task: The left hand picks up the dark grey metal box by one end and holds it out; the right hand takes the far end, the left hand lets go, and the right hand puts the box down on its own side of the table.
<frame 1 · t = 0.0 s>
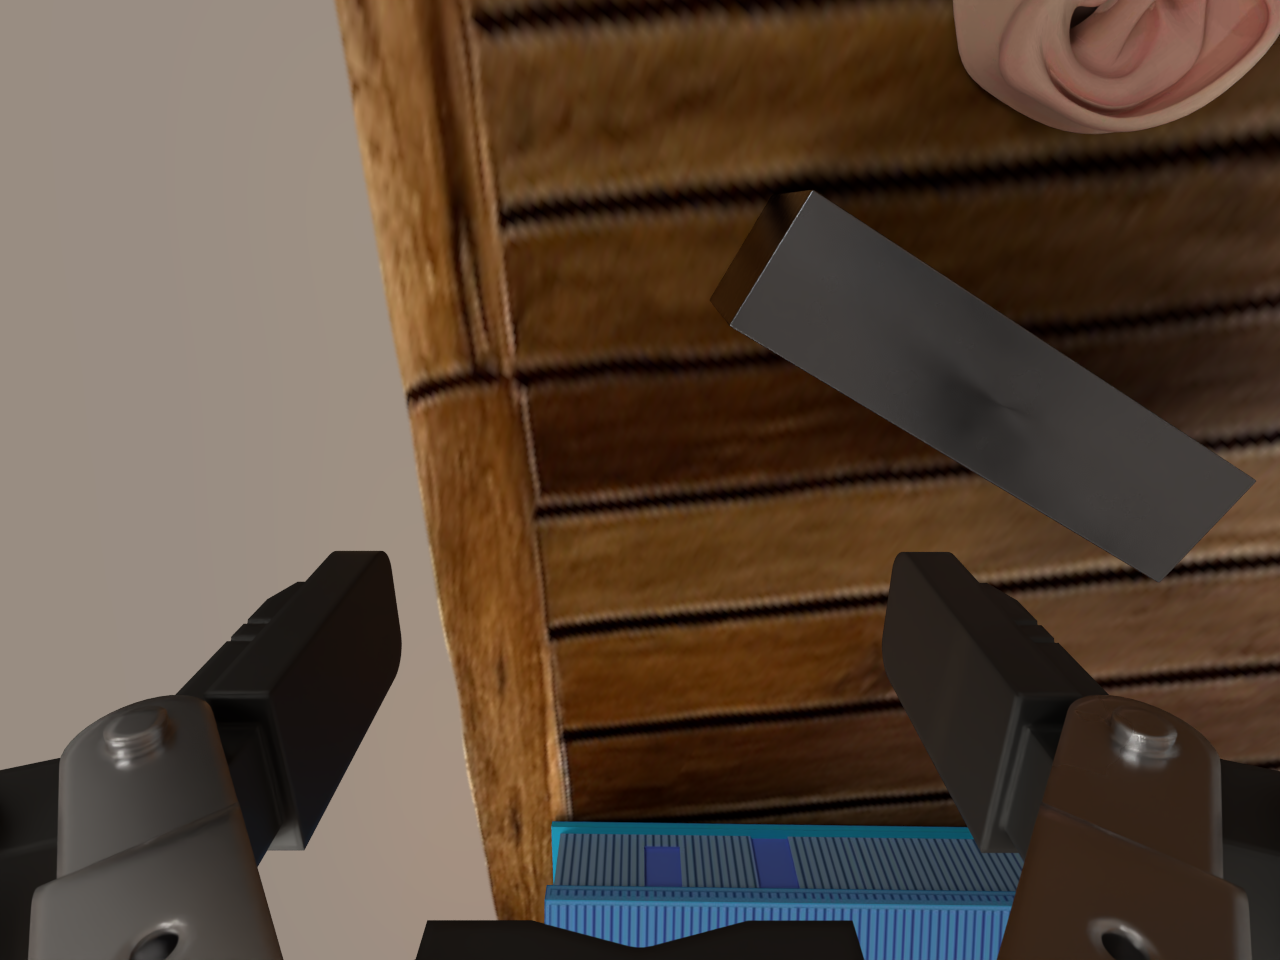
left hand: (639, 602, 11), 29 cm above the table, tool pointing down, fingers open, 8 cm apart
box: (925, 364, 39), on the table
model building: (802, 934, 56), on the table
anatomical model: (1079, 4, 33), on the table
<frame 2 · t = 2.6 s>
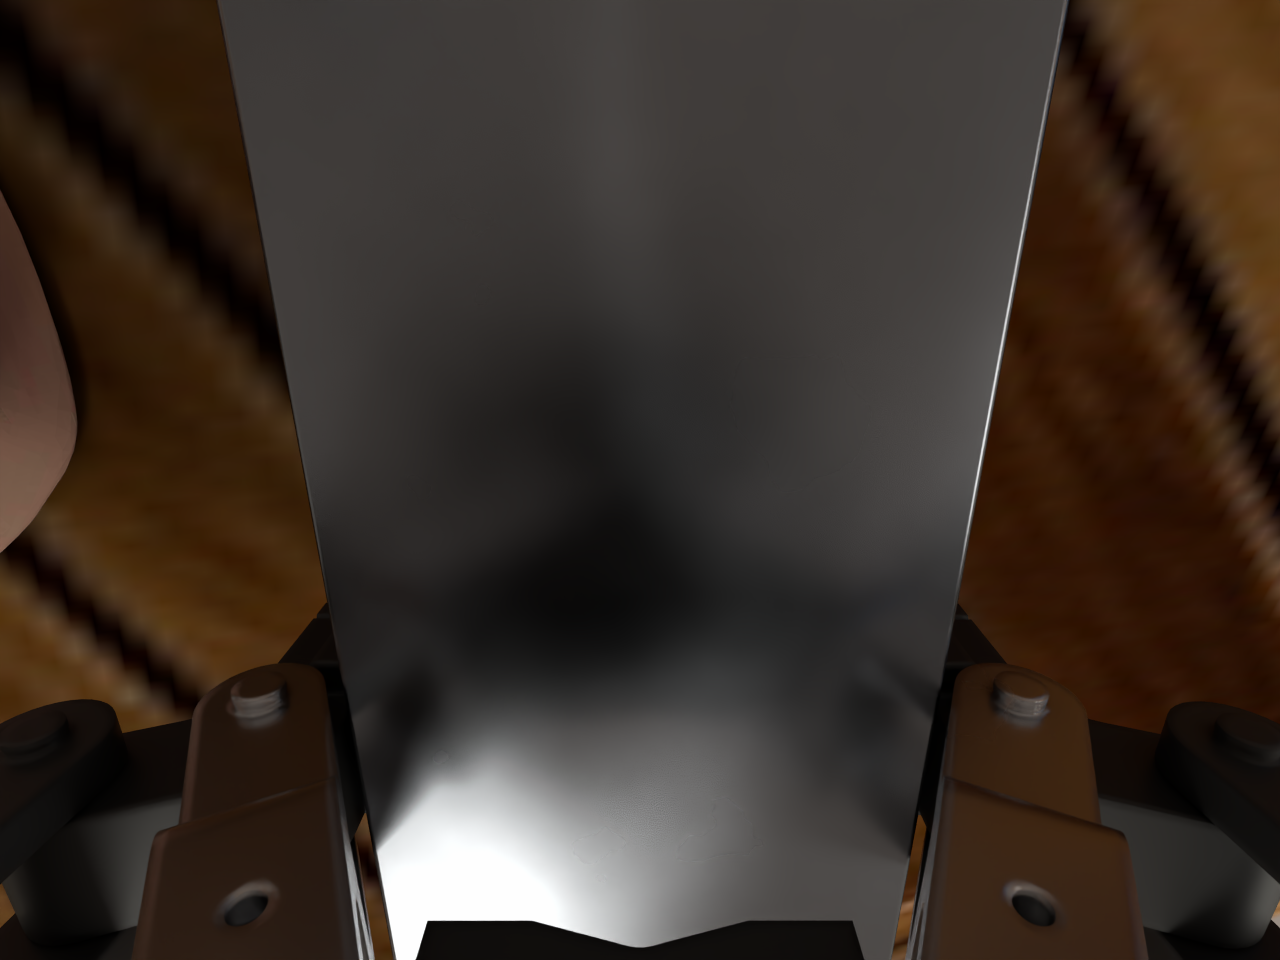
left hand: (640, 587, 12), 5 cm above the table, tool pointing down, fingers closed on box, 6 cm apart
box: (640, 43, 13), on the table, touching left hand
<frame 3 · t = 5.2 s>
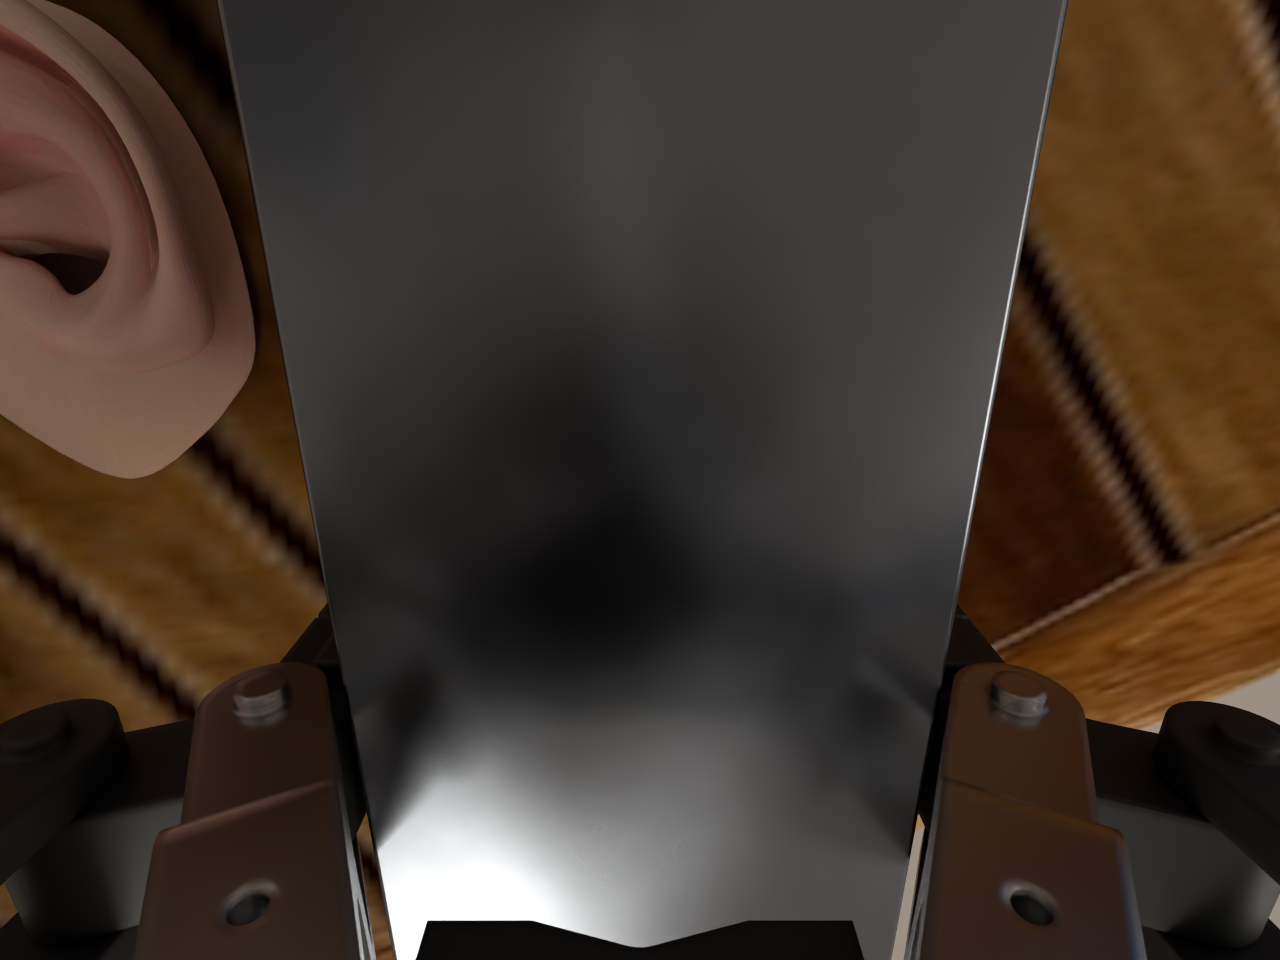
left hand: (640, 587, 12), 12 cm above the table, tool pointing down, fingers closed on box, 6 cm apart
box: (640, 42, 13), point 7 cm above the table, touching left hand
anatomical model: (80, 257, 21), on the table
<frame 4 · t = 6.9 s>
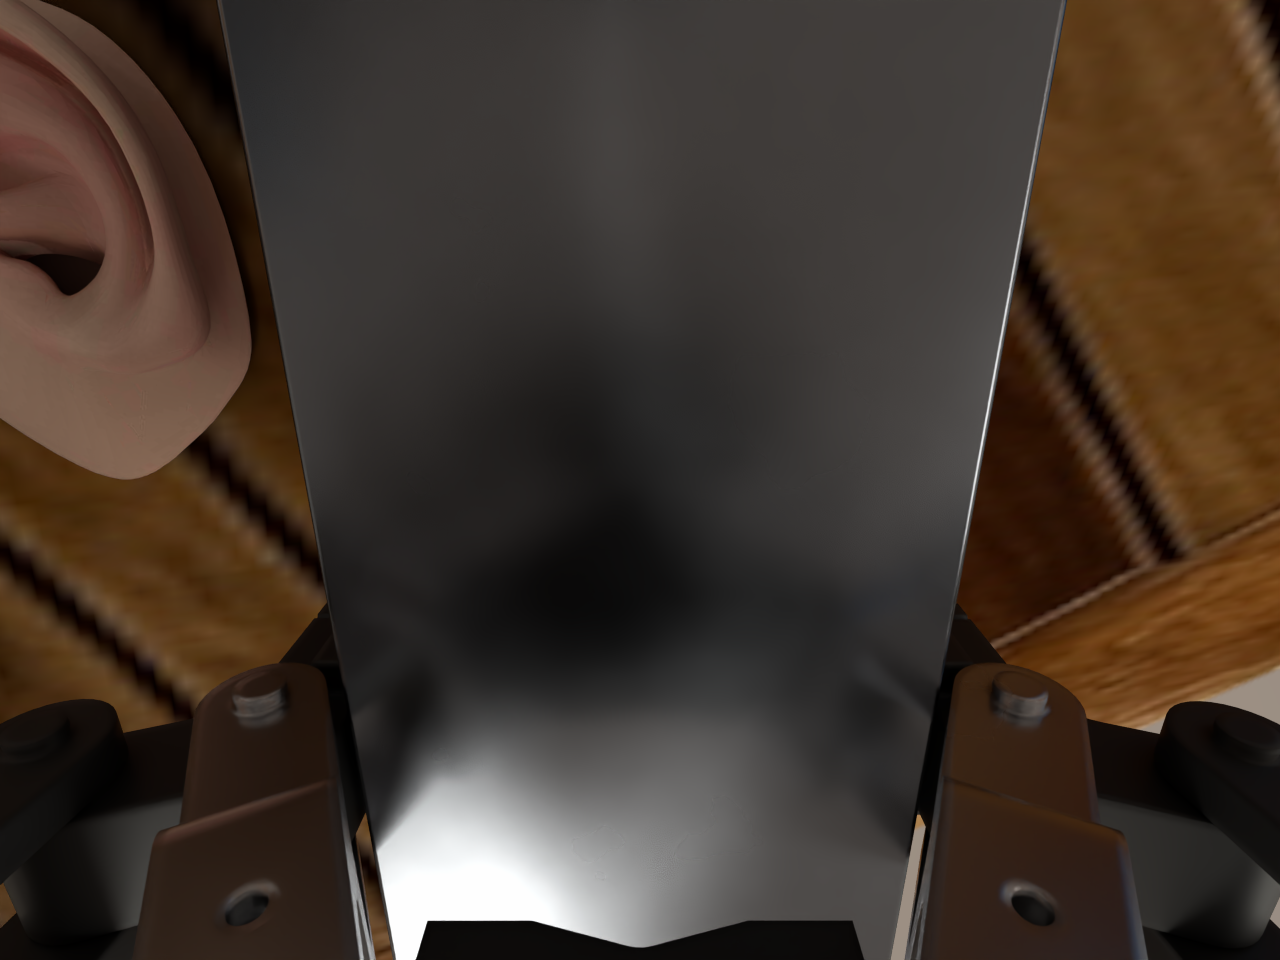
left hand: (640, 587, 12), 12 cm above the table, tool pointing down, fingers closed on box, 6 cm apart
box: (640, 42, 13), point 7 cm above the table, touching left hand, right hand
anatomical model: (75, 257, 21), on the table
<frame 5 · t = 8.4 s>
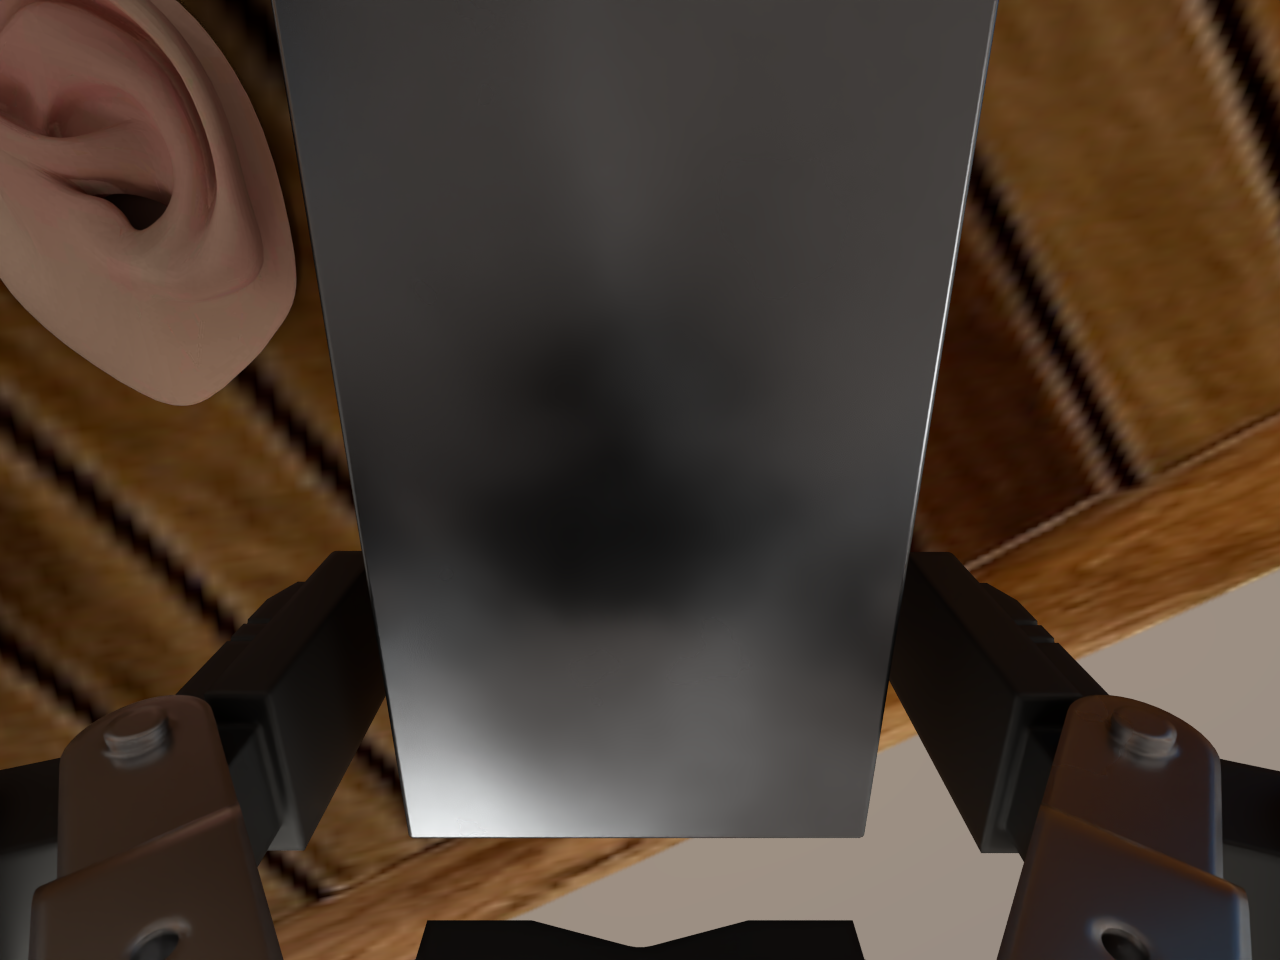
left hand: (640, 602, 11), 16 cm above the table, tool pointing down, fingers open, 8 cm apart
anatomical model: (140, 201, 24), on the table
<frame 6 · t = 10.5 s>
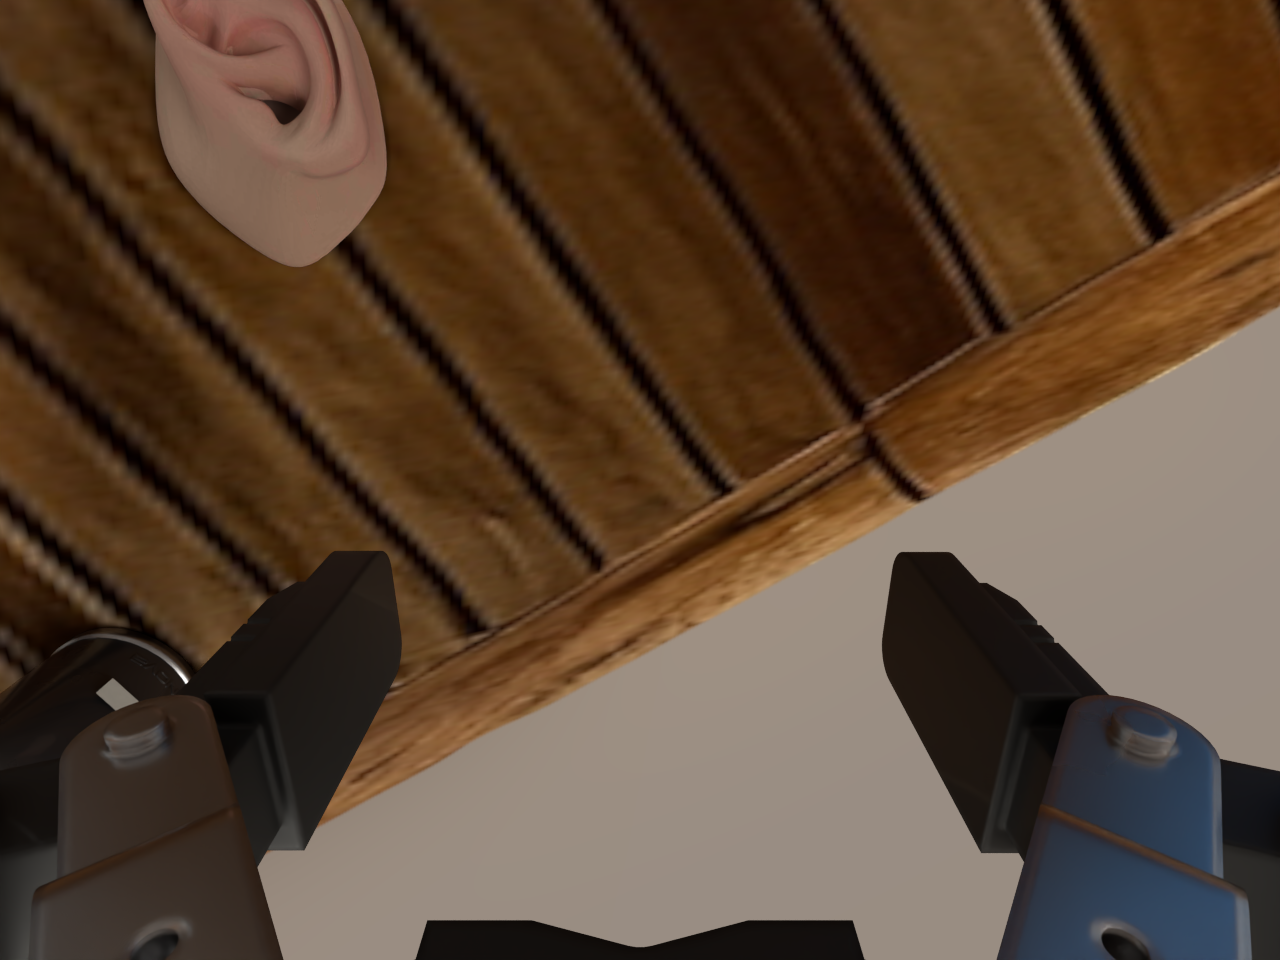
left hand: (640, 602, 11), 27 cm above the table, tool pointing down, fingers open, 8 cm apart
anatomical model: (275, 110, 33), on the table
when the right hand's fingers open (1 cm above the table, at t = 14.6 s): box stays where it is, on the table.
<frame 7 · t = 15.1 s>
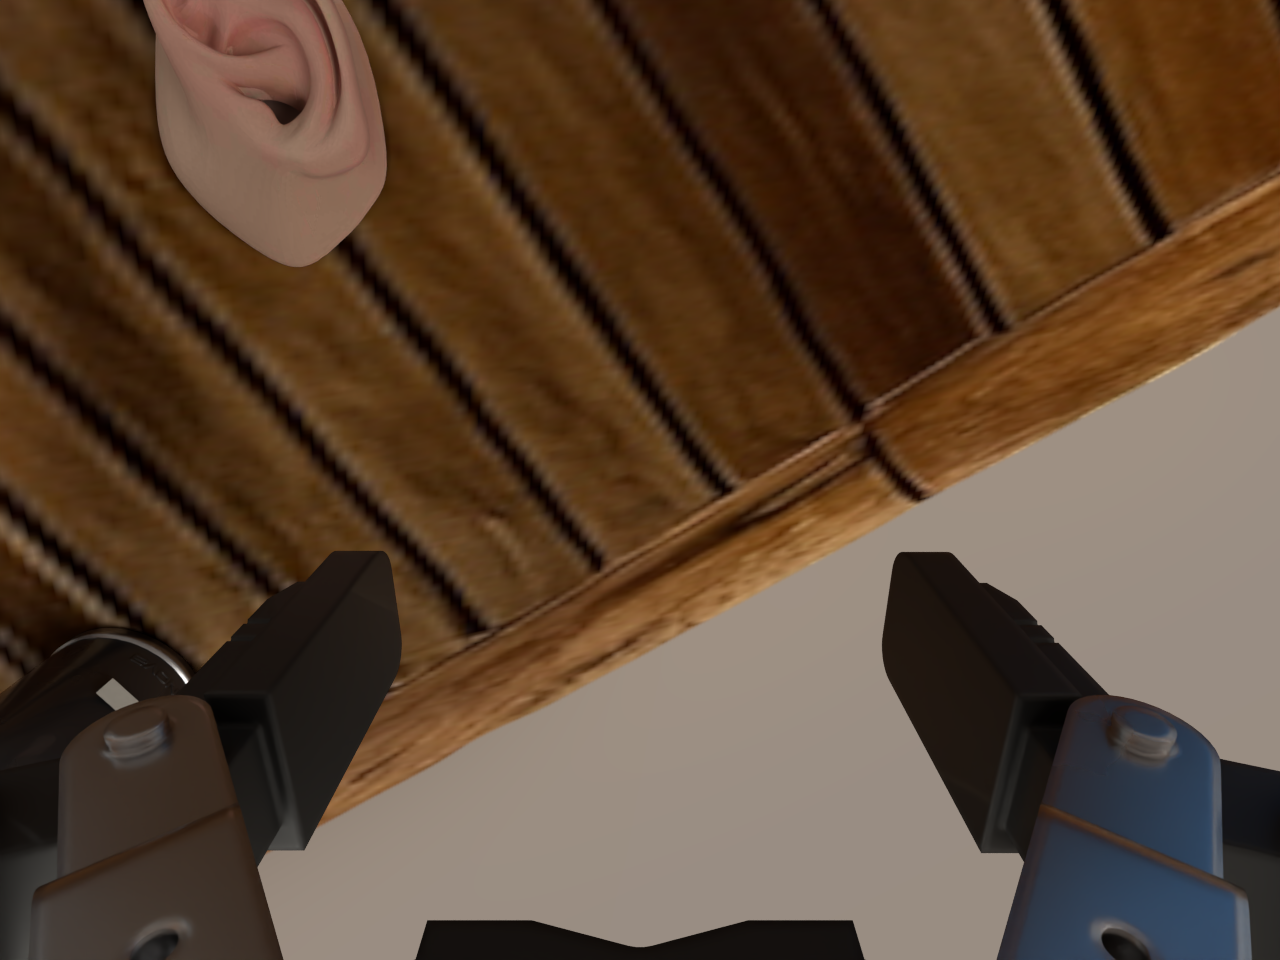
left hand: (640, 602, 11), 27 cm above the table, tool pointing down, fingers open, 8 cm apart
anatomical model: (275, 110, 33), on the table
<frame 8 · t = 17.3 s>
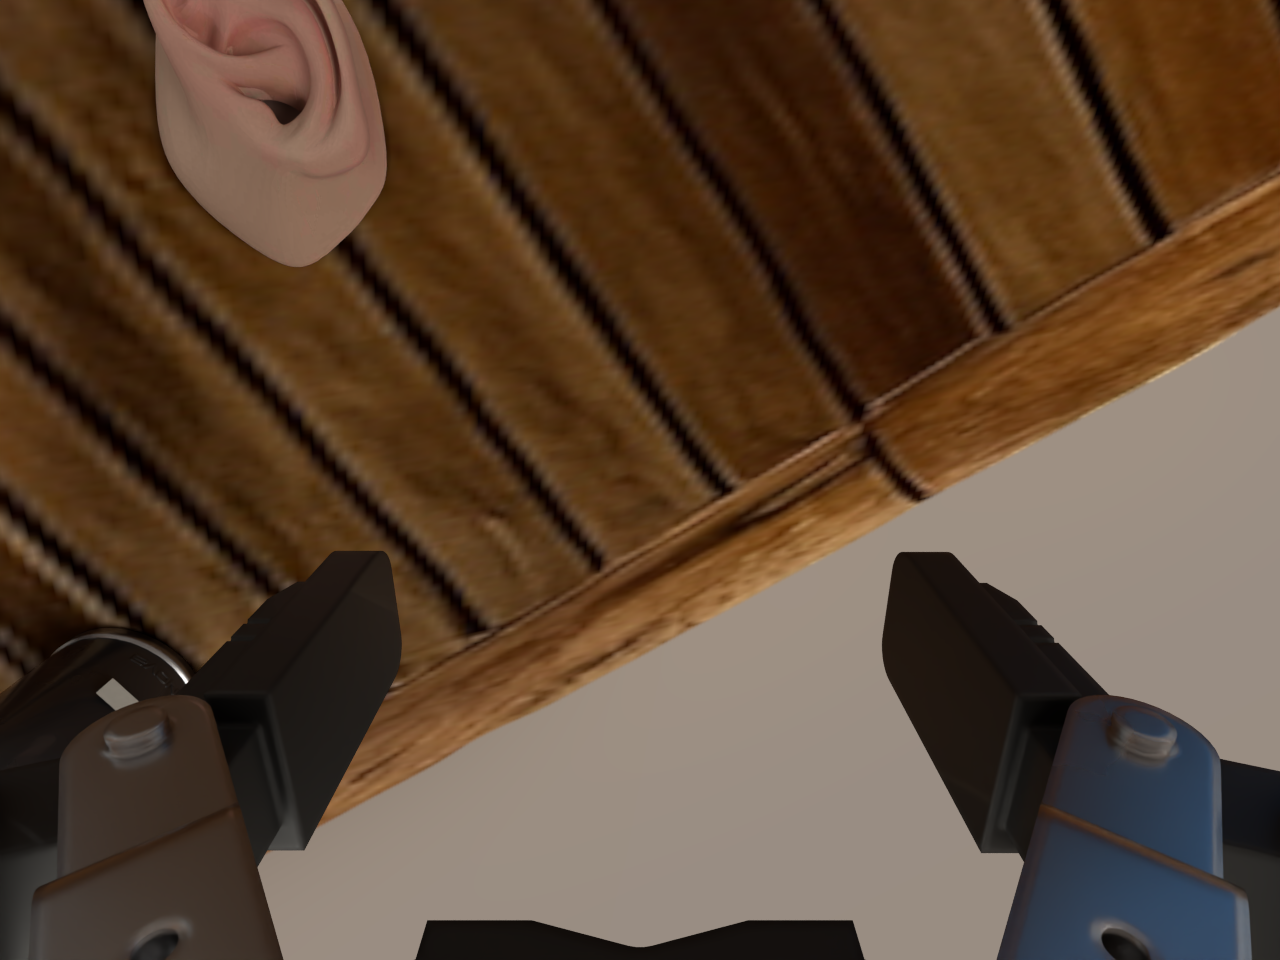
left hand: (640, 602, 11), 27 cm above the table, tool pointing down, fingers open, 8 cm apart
anatomical model: (275, 110, 33), on the table
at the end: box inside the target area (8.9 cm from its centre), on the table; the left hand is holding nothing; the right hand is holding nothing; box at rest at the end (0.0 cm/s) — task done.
